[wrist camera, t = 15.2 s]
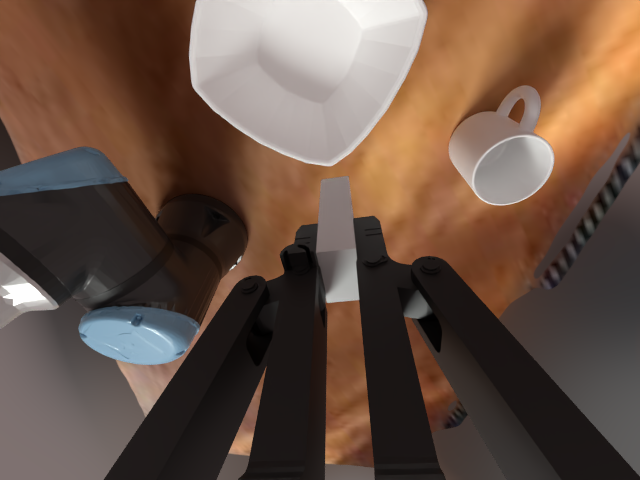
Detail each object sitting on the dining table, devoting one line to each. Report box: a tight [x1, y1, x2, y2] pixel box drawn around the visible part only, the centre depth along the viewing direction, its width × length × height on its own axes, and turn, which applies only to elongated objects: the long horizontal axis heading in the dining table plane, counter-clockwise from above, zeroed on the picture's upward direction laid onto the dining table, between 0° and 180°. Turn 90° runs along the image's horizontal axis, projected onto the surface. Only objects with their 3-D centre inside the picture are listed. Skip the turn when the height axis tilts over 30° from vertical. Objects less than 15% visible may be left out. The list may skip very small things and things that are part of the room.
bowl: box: [189, 0, 428, 166], centre depth 34 cm, size 21×21×9 cm
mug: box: [449, 85, 554, 205], centre depth 37 cm, size 12×8×10 cm
